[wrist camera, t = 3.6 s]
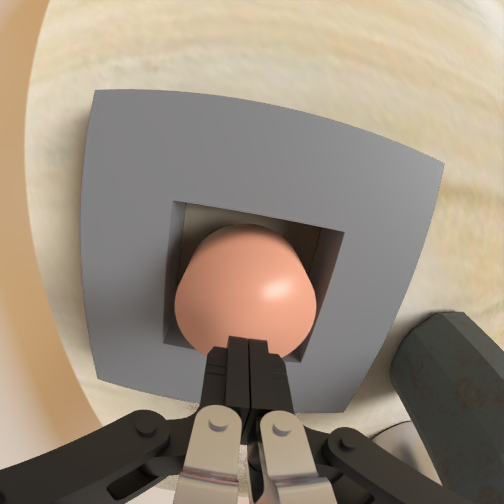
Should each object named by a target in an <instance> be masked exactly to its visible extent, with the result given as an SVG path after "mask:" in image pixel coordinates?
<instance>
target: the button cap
mask: <svg viewBox="0 0 504 504" xmlns="http://www.w3.org/2000/svg"><path fill="white" fill-rule="evenodd" d="M315 314H316V298H315V293H314V290H313V287H312V284H311V282H310V280H309V278H308V276H307V274H306V272H305V270H304V268H303V266H302V264H301V262H300V259H299V257H298V255H297V254H296V252H295V250H294V248H293V247H292V246H291V244H290V243H289V242H288V241H287V240H286V239H285V238H284V237H283V236H281V235H280V234H279V233H277V232H275V231H273V230H272V229H269V228H267V227H264V226H260V225H256V224H235V225H230V226H227V227H223V228H221V229H219V230H217V231H215V232H213V233H212V234H210V235H209V236H208V237H206V238H205V239H204V240H203V241H202V242H201V243H200V244H199V246H198V247H197V249H196V250H195V252H194V254H193V256H192V258H191V260H190V262H189V264H188V267H187V269H186V271H185V273H184V275H183V277H182V280H181V282H180V284H179V286H178V289H177V292H176V296H175V316H176V320H177V323H178V326H179V328H180V330H181V332H182V334H183V335H184V337H185V338H186V340H187V341H188V342H189V343H190V344H191V345H192V346H193V347H194V348H195V349H196V350H198V351H199V352H200V353H202V354H203V355H205V356H207V354H208V353H209V351H210V350H211V349H212V348H213V347H214V346H217V347H224V348H227V343H228V337H229V335H230V336H237V337H244V338H252V339H260V340H267V342H268V350H269V353H273V354H279V355H280V357H281V358H282V357H284V356H286V355H287V354H289V353H290V352H292V351H293V350H294V349H296V348H297V347H298V346H299V345H300V344H301V343H302V342H303V340H304V339H305V338H306V336H307V335H308V333H309V332H310V330H311V327H312V325H313V323H314V319H315Z"/></svg>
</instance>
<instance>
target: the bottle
mask: <svg viewBox="0 0 504 504" xmlns="http://www.w3.org/2000/svg"><path fill="white" fill-rule="evenodd" d="M390 374H391V382H392V384H393V386H394V388H395V390H396V392H397V394H398V395H399V397H400V399H401V401H402V403H403V405H404V407H405V409H406V411H407V412H408V414H409V416H410V418H411V420H412V422H413V424H414V426H415V428H416V430H417V432H418V434H419V436H420V438H421V440H422V442H423V444H424V447H425V449H426V451H427V453H428V455H429V457H430V459H431V461H432V463H433V466H434V468H435V470H436V472H437V474H438V477H439V479H440V481H441V484H442V486H444V487H445V488H447V489H449V490H451V491H452V492H454V493H456V494H458V495H460V496H462V497H464V498H465V499H467V500H469V501H471V502H473V503H474V504H504V351H503V350H502V349H501V348H500V347H499V346H498V345H497V344H496V343H495V342H494V341H493V340H492V339H491V338H490V337H489V336H488V335H487V334H486V333H485V332H484V331H483V330H482V329H481V328H480V327H479V326H477V325H476V324H475V323H474V322H473V321H472V320H471V319H470V318H469V317H468V316H467V315H466V314H465V313H464V312H445V313H436V314H434V315H433V316H431V317H430V318H428V319H427V320H425V321H424V322H423V323H421V324H420V325H418V326H417V327H415V328H414V329H412V330H411V331H410V333H409V334H408V335H407V336H406V337H405V338H404V339H403V341H402V342H401V345H400V347H399V349H398V351H397V354H396V356H395V358H394V360H393V362H392V364H391V371H390Z"/></svg>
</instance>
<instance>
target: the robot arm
mask: <svg viewBox="0 0 504 504" xmlns="http://www.w3.org/2000/svg"><path fill="white" fill-rule="evenodd" d="M240 444H241V445H247V456H246V458H245V469H246V478H247V486H248V495H249V503H250V504H474V503H473V502H471V501H469V500H467V499H465V498H464V497H462V496H460V495H458V494H456V493H454V492H452V491H451V490H449V489H447V488H445V487H444V486H442V484H441V481H440V479H439V477H438V474H437V472H436V470H435V468H434V466H433V463H432V461H431V459H430V457H429V455H428V453H427V451H426V449H425V447H424V444H423V442H422V440H421V438H420V436H419V434H418V432H417V430H416V428H415V426H414V424H413V422H412V421H410V422H405V423H402V424H399V425H396V426H394V427H392V428H390V429H388V430H386V431H384V432H382V433H381V434H379V435H377V436H376V437H375V438H373V439H372V440H370V439H369V438H367V437H366V436H364V435H363V434H362V433H360V432H359V431H357V430H355V429H353V428H348V427H341V428H337V429H335V430H334V431H332V432H331V433H330V434H328V433H324V432H320V431H316V430H312V429H309V428H307V427H306V426H304V425H303V424H302V422H301V420H300V419H299V418H298V417H297V416H295V414H294V409H293V403H292V398H291V392H290V387H289V383H288V376H287V370H286V365H285V362H284V361H283V360H282V358H281V357H280V355H279V354H273V353H269V350H268V342H267V340H260V339H252V338H244V337H237V336H230V335H229V337H228V343H227V348H224V347H217V346H214V347H213V348H212V349H211V350H210V351H209V353H208V354H207V360H206V366H205V373H204V380H203V387H202V394H201V401H200V406H199V408H198V409H197V411H196V412H195V413H194V414H192V415H191V416H189V417H186V418H183V419H174V420H166V419H165V418H164V417H163V416H161V415H160V414H158V413H156V412H154V411H150V410H137V411H134V412H132V413H130V414H128V415H126V416H124V417H122V418H120V419H118V420H116V421H114V422H112V423H110V424H108V425H106V426H104V427H102V428H100V429H98V430H96V431H94V432H92V433H90V434H88V435H86V436H84V437H81V438H79V439H77V440H75V441H73V442H70V443H68V444H66V445H64V446H61V447H59V448H57V449H54V450H52V451H50V452H47V453H45V454H42V455H40V456H37V457H35V458H32V459H30V460H27V461H24V462H22V463H19V464H17V465H13V466H10V467H8V468H5V469H2V470H0V504H125V503H126V502H128V501H130V500H132V499H133V498H135V497H137V496H138V495H140V494H142V493H143V492H145V491H146V490H148V489H150V488H151V487H153V486H154V485H156V484H157V483H159V482H160V481H162V480H163V479H165V478H166V477H168V476H169V475H180V476H179V479H178V483H177V487H176V492H175V496H174V500H173V504H237V500H238V487H239V484H238V480H237V470H238V460H239V449H240Z"/></svg>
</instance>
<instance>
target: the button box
mask: <svg viewBox="0 0 504 504" xmlns="http://www.w3.org/2000/svg"><path fill="white" fill-rule="evenodd" d="M444 164H445V163H443V162H441V161H439V160H437V159H435V158H432V157H430V156H428V155H426V154H424V153H421V152H419V151H417V150H415V149H412V148H410V147H408V146H405V145H403V144H400V143H398V142H395V141H393V140H390V139H388V138H385V137H382V136H380V135H377V134H374V133H371V132H369V131H366V130H363V129H360V128H357V127H354V126H351V125H348V124H344V123H341V122H338V121H335V120H331V119H328V118H324V117H321V116H317V115H313V114H310V113H306V112H302V111H298V110H293V109H289V108H285V107H280V106H276V105H271V104H266V103H261V102H255V101H250V100H244V99H238V98H232V97H225V96H217V95H209V94H201V93H191V92H179V91H164V90H135V89H117V90H95V93H94V97H93V102H92V107H91V113H90V118H89V124H88V131H87V137H86V145H85V153H84V162H83V173H82V187H81V209H80V247H81V269H82V283H83V294H84V303H85V311H86V319H87V326H88V332H89V338H90V344H91V349H92V355H93V360H94V364H95V369H96V374H97V378H98V379H100V380H103V381H106V382H109V383H113V384H116V385H119V386H123V387H127V388H130V389H134V390H138V391H142V392H146V393H150V394H154V395H158V396H163V397H168V398H172V399H177V400H183V401H188V402H194V403H200V401H201V394H202V387H203V380H204V373H205V366H206V360H207V356H205V355H203V354H202V353H200V352H199V351H198V350H196V349H195V348H194V347H193V346H192V345H191V344H190V343H189V342H188V341H187V340H186V338H185V337H184V335H183V334H182V332H181V330H180V328H179V326H178V323H177V320H176V316H175V296H176V292H177V280H178V269H179V259H180V249H181V240H182V231H183V223H184V215H185V208H186V203H192V204H199V205H205V206H211V207H217V208H223V209H229V210H234V211H240V212H246V213H251V214H257V215H262V216H268V217H273V218H278V219H283V220H289V221H294V222H299V223H304V224H309V225H314V226H319V227H322V228H321V232H320V236H319V240H318V244H317V247H316V251H315V255H314V258H313V262H312V265H311V269H310V272H309V276H308V278H309V280H310V282H311V284H312V287H313V290H314V293H315V298H316V314H315V319H314V323H313V325H312V327H311V330H310V332H309V333H308V335H307V336H306V338H305V339H304V340H303V342H302V343H301V344H300V345H299V346H298V347H297V348H296V349H294V350H293V351H292V352H290V353H289V354H287V355H286V356H284V357H282V360H283V361H284V362H285V365H286V370H287V376H288V383H289V387H290V392H291V398H292V403H293V409H294V413H339V412H344V411H345V409H346V408H347V406H348V404H349V403H350V401H351V400H352V398H353V396H354V395H355V393H356V391H357V390H358V388H359V386H360V385H361V383H362V381H363V380H364V378H365V376H366V374H367V373H368V371H369V369H370V367H371V365H372V364H373V362H374V360H375V358H376V356H377V354H378V352H379V350H380V348H381V346H382V344H383V342H384V340H385V338H386V336H387V334H388V332H389V330H390V328H391V326H392V324H393V322H394V319H395V317H396V315H397V313H398V310H399V308H400V306H401V303H402V301H403V299H404V296H405V294H406V291H407V289H408V287H409V284H410V281H411V279H412V276H413V274H414V271H415V268H416V265H417V263H418V260H419V257H420V254H421V251H422V248H423V245H424V242H425V239H426V236H427V232H428V229H429V226H430V222H431V219H432V215H433V211H434V208H435V204H436V200H437V196H438V192H439V188H440V183H441V179H442V174H443V169H444Z"/></svg>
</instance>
